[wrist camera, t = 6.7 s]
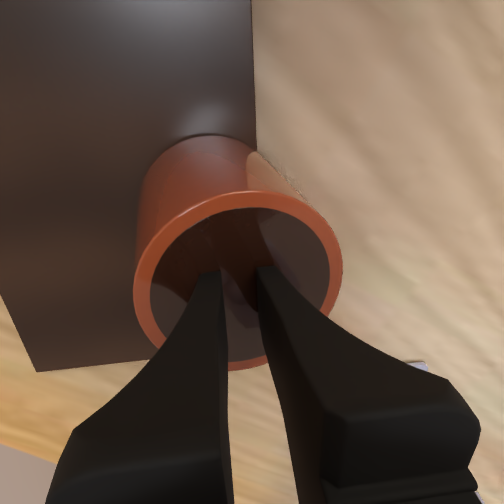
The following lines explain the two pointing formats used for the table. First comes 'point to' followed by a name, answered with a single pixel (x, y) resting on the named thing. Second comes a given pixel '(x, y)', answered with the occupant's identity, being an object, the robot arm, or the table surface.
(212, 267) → the cup
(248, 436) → the table surface
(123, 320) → the board
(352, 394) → the robot arm
